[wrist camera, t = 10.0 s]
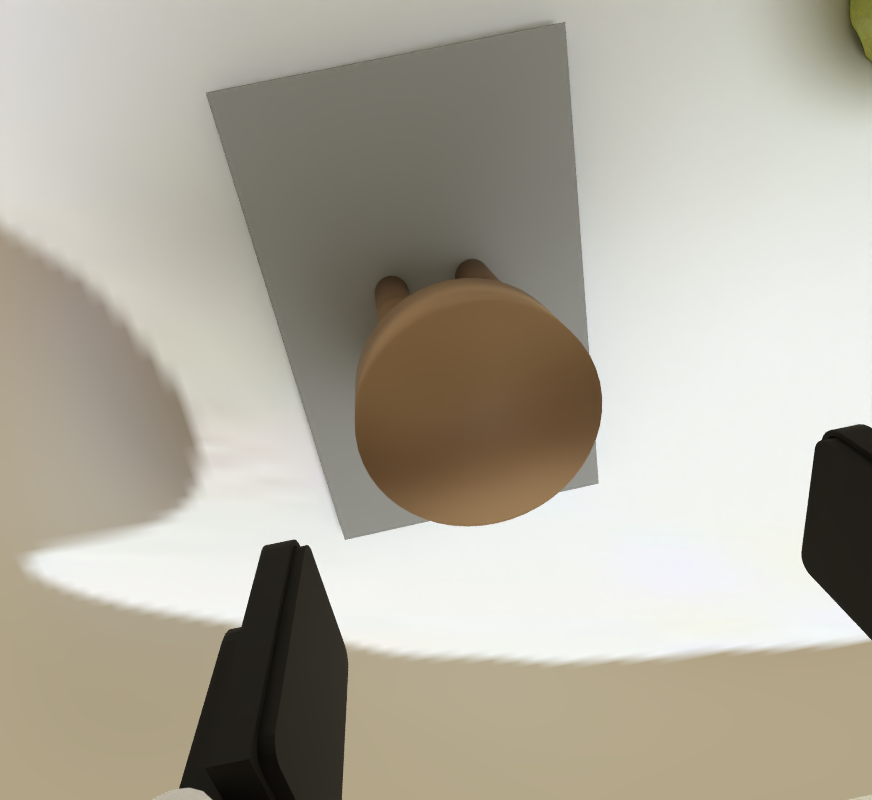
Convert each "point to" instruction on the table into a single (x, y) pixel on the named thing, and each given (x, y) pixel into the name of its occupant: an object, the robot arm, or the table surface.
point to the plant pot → (863, 23)
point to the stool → (472, 399)
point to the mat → (403, 209)
